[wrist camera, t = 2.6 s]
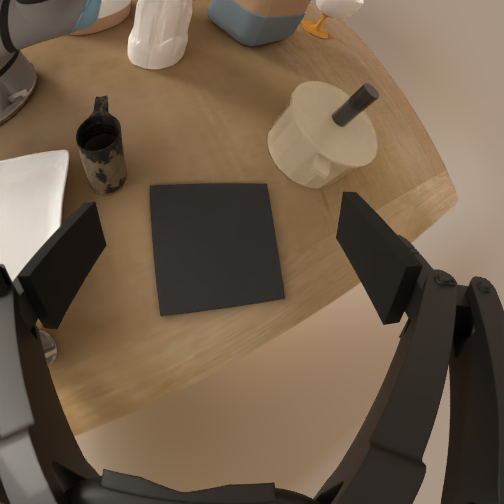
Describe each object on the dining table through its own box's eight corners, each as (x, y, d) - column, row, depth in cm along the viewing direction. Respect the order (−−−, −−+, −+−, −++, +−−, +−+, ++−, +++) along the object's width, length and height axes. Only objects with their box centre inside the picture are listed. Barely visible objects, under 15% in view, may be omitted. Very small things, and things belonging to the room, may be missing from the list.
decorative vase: (141, 34, 40) (163, -68, 17) (190, 43, 43) (228, -59, 20) (118, 65, 37) (130, -55, 14) (173, 74, 40) (209, -48, 17)
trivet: (150, 187, 36) (150, 185, 35) (265, 185, 42) (266, 183, 41) (160, 315, 33) (160, 316, 33) (283, 298, 39) (285, 298, 39)
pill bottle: (26, 329, 26) (-3, 333, 18) (55, 330, 28) (30, 336, 20) (30, 364, 25) (3, 377, 17) (60, 367, 27) (37, 382, 19)
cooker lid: (274, 129, 34) (309, 85, 25) (302, 71, 39) (330, 35, 30) (367, 189, 38) (413, 164, 29) (376, 122, 42) (410, 96, 34)
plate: (-32, 178, 24) (-41, 169, 21) (75, 158, 32) (70, 146, 29) (-40, 315, 21) (-52, 315, 18) (73, 312, 29) (66, 312, 26)
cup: (339, 41, 61) (371, 6, 46) (315, 42, 57) (349, 0, 41) (313, 18, 61) (341, -18, 45) (288, 17, 56) (316, -24, 40)
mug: (127, 194, 34) (122, 147, 23) (89, 199, 32) (69, 154, 21) (127, 144, 35) (125, 89, 24) (91, 149, 33) (78, 95, 22)
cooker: (249, 173, 41) (275, 140, 33) (285, 96, 48) (309, 65, 39) (327, 217, 45) (365, 197, 36) (346, 135, 51) (376, 112, 42)
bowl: (46, 39, 32) (42, 11, 24) (77, 2, 35) (77, -22, 28) (116, 34, 38) (118, 3, 30) (139, 0, 41) (143, -26, 33)
